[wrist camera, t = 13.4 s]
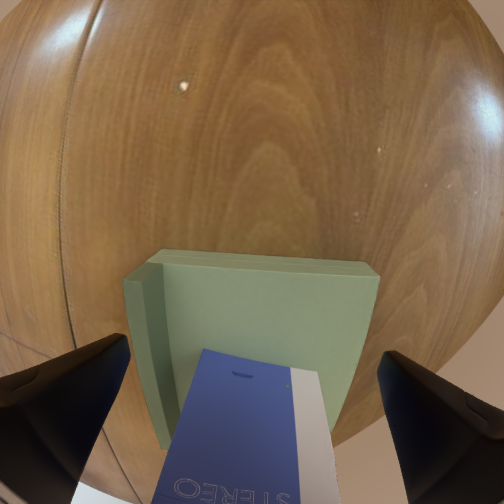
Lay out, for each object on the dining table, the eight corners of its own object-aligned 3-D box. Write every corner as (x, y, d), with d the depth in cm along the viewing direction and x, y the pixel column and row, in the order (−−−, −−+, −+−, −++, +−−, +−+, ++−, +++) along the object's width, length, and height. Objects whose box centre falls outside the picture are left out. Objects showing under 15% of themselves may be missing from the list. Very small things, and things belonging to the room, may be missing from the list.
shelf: (365, 261, 18) (402, 298, 12) (326, 411, 22) (335, 461, 16) (162, 248, 18) (121, 279, 13) (178, 401, 22) (160, 449, 17)
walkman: (198, 376, 18) (150, 529, 6) (203, 347, 17) (146, 518, 5) (304, 398, 18) (320, 547, 6) (318, 371, 17) (349, 536, 5)
